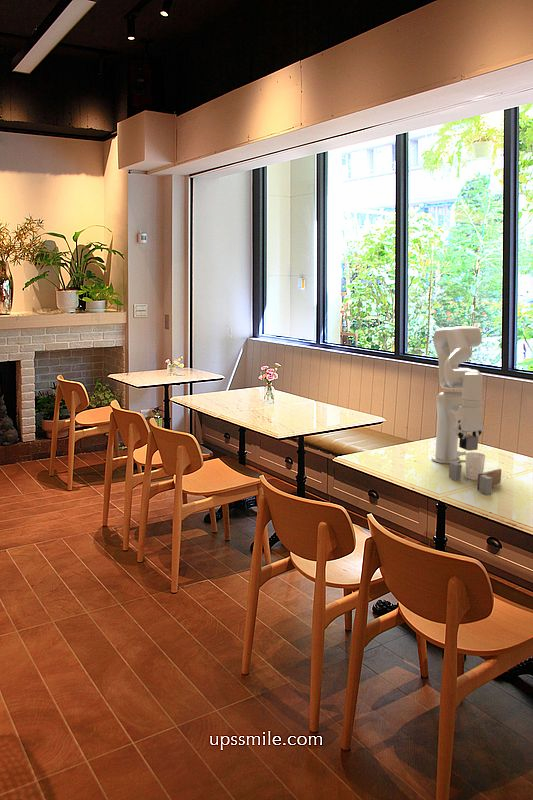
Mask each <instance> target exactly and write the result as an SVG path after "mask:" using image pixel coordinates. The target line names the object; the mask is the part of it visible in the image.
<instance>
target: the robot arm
mask: <svg viewBox="0 0 533 800" xmlns="http://www.w3.org/2000/svg"><path fill="white" fill-rule="evenodd" d="M482 336H483V335H482V331H481V330H480V328H478V327H477V326H453V327H442V328H438V329H436V330H435V332H434V333H433V344H434V349H435V352H436V354H437V358H438V359H437V361H438V381H439V386H440V387H441V388H442V389H446V390H462V391H442V392H439V393H438V394H437V396H436V403H435V404H436V412H437V413H436V415H437V420H436V439H435V454H434V455H432V456H431V460H432V461H433V462H436V463H440V464H447V465H448V464H449V465H450V462H456V463H460V462H461V456H463V457H464V456H466V453H467V452H466V451H467V450H465V449H466V439H465V437H466V434H467V433H469V432H471V435H473V436H475V437H478V439H479V437H480V436H481V434H482V433H483V432H484V431H485V430H486V428H485V426H484V424H483V422H484V417H483V414H484V413H483V408H482V406H481V405H482V404H483V403H484V400H483V399H482V391H483V378H484V377H483V374H482V373H481V372H480V371H479V370H478V369H474V368H473V369H472V368H469V367H459V365H461V364H463V363H465V362H467V361H468V360H470V358H471V357H472V354H473V353H472V348H476V347H479V346H480V345H481V343H482V340H483V339H482V338H483V337H482ZM454 414H456V416H455V415H454ZM459 441H460V447H459ZM458 447H459V448H461V449H463V450H464V451H463V450H462V451H460V450H458Z"/></svg>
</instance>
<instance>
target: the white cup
mask: <svg viewBox="0 0 533 800" xmlns="http://www.w3.org/2000/svg"><path fill="white" fill-rule="evenodd" d="M485 462H486V454H484V453H482V452H475V451H474V452H472V451H470V452H466V455H465V478H466V479H468V480H472V481H478V474H479V473H484V469H485Z"/></svg>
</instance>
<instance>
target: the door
mask: <svg viewBox="0 0 533 800" xmlns="http://www.w3.org/2000/svg"><path fill="white" fill-rule="evenodd" d="M481 475H486V476H488V477H491V478H492V487H493V486H497V485H501V482H502V481H501V480H502V468H497V469H493V470H492V469H491V470H489V471H486V472H485V471H484V472H483V473H479V474H478V480H477V483H476V484H477V487H476V489H477V491H479V482H480V476H481Z"/></svg>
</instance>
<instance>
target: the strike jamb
mask: <svg viewBox="0 0 533 800" xmlns="http://www.w3.org/2000/svg"><path fill="white" fill-rule="evenodd" d="M448 478H450V479H452V480H454V481H461V479H462V464H461V463H460V462H458V463H456V462H450V464H449V469H448Z"/></svg>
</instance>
